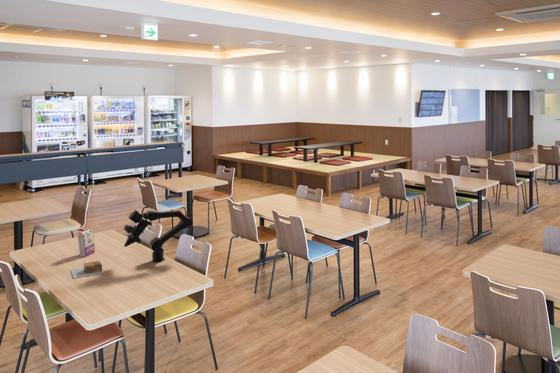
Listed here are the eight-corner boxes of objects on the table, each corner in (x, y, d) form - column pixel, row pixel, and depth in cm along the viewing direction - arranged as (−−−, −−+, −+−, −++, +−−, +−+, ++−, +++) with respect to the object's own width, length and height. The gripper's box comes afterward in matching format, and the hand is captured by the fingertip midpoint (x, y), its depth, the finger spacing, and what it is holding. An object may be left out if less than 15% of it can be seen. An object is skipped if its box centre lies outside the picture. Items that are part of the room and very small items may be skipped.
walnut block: (100, 260, 309) (83, 263, 304) (101, 263, 302) (84, 266, 298) (100, 267, 309) (84, 270, 305) (102, 270, 303) (85, 273, 299)
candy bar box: (88, 251, 343) (86, 229, 340) (95, 251, 342) (93, 229, 339) (79, 256, 332) (77, 233, 329) (85, 257, 331) (83, 233, 328)
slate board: (97, 266, 313) (97, 265, 313) (101, 273, 299) (101, 273, 299) (71, 270, 305) (70, 269, 305) (73, 278, 292) (73, 278, 291)
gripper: (128, 217, 318) (112, 235, 315) (134, 223, 302) (117, 243, 299) (141, 226, 323) (125, 245, 320) (147, 233, 307) (131, 253, 304)
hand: (124, 246), depth 311 cm, fingers closed
